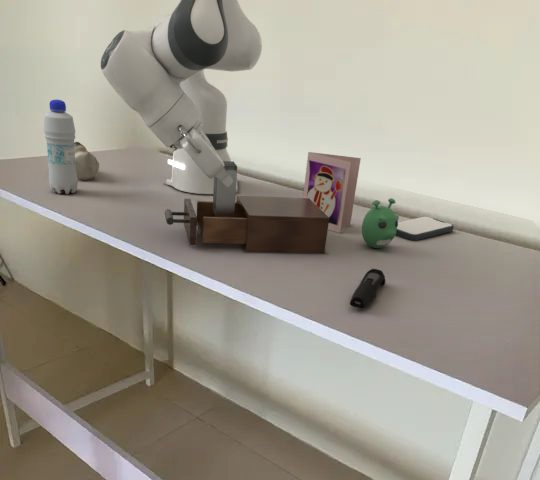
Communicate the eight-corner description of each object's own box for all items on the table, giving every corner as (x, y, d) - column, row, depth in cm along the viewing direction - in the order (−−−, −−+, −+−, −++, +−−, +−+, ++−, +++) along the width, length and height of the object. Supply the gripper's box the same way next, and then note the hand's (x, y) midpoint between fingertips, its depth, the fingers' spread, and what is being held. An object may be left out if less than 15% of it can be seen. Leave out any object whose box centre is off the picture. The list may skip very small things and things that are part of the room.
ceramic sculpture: (66, 145, 144) (44, 138, 154) (69, 182, 148) (47, 173, 158) (108, 144, 150) (84, 137, 160) (110, 180, 154) (86, 171, 164)
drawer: (167, 244, 111) (167, 216, 109) (163, 223, 123) (163, 197, 120) (265, 247, 115) (268, 219, 113) (252, 226, 127) (254, 201, 124)
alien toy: (376, 255, 120) (385, 205, 115) (351, 243, 125) (359, 195, 120) (402, 252, 123) (411, 203, 118) (377, 240, 129) (385, 193, 124)
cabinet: (246, 252, 114) (248, 215, 111) (234, 229, 127) (236, 195, 123) (324, 253, 118) (329, 217, 114) (305, 231, 130) (309, 198, 127)
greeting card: (297, 220, 137) (305, 152, 130) (318, 216, 142) (326, 150, 135) (337, 233, 131) (348, 162, 124) (357, 228, 136) (368, 160, 129)
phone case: (413, 242, 131) (455, 232, 140) (414, 235, 130) (456, 225, 140) (381, 231, 136) (424, 222, 146) (383, 224, 136) (425, 215, 145)
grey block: (215, 216, 115) (217, 165, 110) (212, 209, 119) (214, 160, 114) (234, 217, 116) (237, 166, 111) (231, 210, 120) (234, 161, 115)
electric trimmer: (342, 312, 94) (345, 293, 92) (365, 280, 107) (368, 263, 105) (365, 317, 93) (369, 298, 91) (385, 284, 106) (389, 267, 104)
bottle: (70, 196, 137) (64, 102, 128) (43, 192, 138) (34, 98, 129) (84, 190, 143) (79, 100, 134) (58, 187, 144) (51, 96, 135)
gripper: (195, 118, 98) (250, 182, 105) (185, 102, 115) (232, 157, 122) (168, 145, 99) (223, 206, 106) (161, 125, 117) (209, 179, 124)
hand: (228, 180), depth 114 cm, fingers closed on grey block, 4 cm apart
